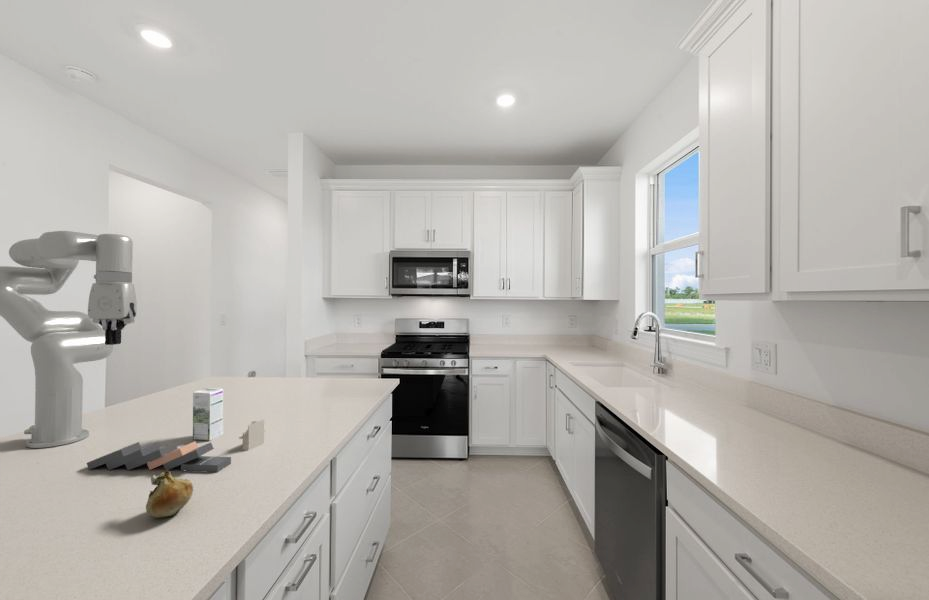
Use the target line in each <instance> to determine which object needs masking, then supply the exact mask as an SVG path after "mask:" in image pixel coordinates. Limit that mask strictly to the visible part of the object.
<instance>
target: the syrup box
mask: <svg viewBox="0 0 929 600" xmlns="http://www.w3.org/2000/svg"><path fill="white" fill-rule="evenodd" d="M221 436H224V388H208V387H207V388H202V389H198V390H196V391H192V441H209V442H210V441H213V440H215V439H217V438H219V437H221ZM214 438H215V439H214ZM212 439H213V440H212Z"/></svg>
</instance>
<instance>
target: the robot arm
mask: <svg viewBox="0 0 929 600" xmlns="http://www.w3.org/2000/svg"><path fill="white" fill-rule="evenodd" d="M133 245H134V244H133V239H132V238H131V237H130V236H127V235H123V234H115V233H101V234H92V233H84V232H79V231H73V230H72V231H71V230H70V231H69V230H55V231H47V232H44V233H42V234H41V235H40V236H39V237H38V238H28V239H23V240H19V241H17V242H14V243H13V244H12V245H11V246H10V247H9V249H8V255H9V257H10V259H11V260H12V261H13V262H15V264H18V265H20V266H6V265H5V266H3V265H2V266H1V265H0V317H2V318H3V319H4V321H6V322H7V324H9V326H11V328H12V329H13V330H15V332H17V334H18V335H20V337H22V338H23V340H25V341H27V342H29V343H31V345H30V355H31V358H32V364H33V367H34V376H35V378H34V379H35V380H34V381H35V382H34V383H35V384H34V385H35V387H34V388H35V391H34V392H35V393H34V395H35V396H34V399H35V400H34V402H35V403H34V408H35V409H34V425H31V426H29V428H28V429H25V430H24V431H23V433H24V435H31V436H30V437H31V438H29V439H28V440H26V442H25V446H26V447H27V448H29V449H43V448H52V447H58V446H59V447H60V446H64V445H68V444H72V443H75V442H78V441H81V440H84V439H86V438H87V437H89V435H90V431H89V430H88V429H83V395H84V394H83V393H84V392H83V388H84V385H83V384H84V381H83V379H84V378H83V375H82V374H81V372H80V371H79V370H78V369H77V368H76V367H75V366H74V364H79V363H81V364H82V363H88V362H94V361H99V360H104V359H106V358H107V357H109V356H110V355H111V354H112V352H113V350H114V345H121V343H122V330H124V329H125V327H126V326H128V325H129V324H133V323H135V318H136V316H137V311H138V309H137V308H138V306H137V304H138V303H137V293H136V288H135V285H134V283H133V251H134V250H133V249H134V247H133ZM80 261H89V262H90V261H91V262H95V274H94V275H93V278H94V279H95V282H93V283H92V284H91V287H90V290H89V294H88V295H89V296H88V303H87V313H84V312H81V311H75V310H71V311H69V310H67V311H65V310H64V311H60V310H58V311H56V310H49V309H47V308H46V307H45V306H44V305H43V304H42V303H41V302H40V301H38V300H36V299H34V298H33V297H30V296H31V295H33V296H35V295H37V296H38V295H39V296H41V295H42V296H43V295H44V296H47V295H53V294H55V293H57V292H58V291H60V290H61V289H62V288H63V287H64V285H65V283H66V282H67V280H68V279H69V278H70V277H71V275H72V274H73V273H74V271H75V270H76V269H77V266H78V264H79V262H80ZM21 266H22V267H21ZM27 295H30V296H27Z"/></svg>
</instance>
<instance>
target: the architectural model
mask: <svg viewBox="0 0 929 600" xmlns="http://www.w3.org/2000/svg"><path fill="white" fill-rule="evenodd" d="M266 433H267V430H265V419H261V420H259V421H255V420H253V421H251V423H250V424H249V425H247V429H246V431H244V432H242V435H241V436H238V439H239V440H242V446H241V447H242V451H247V452H248V451H250V450H253V449H255V448H257V447H259V446H261V445H264V443H265V434H266Z"/></svg>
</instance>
